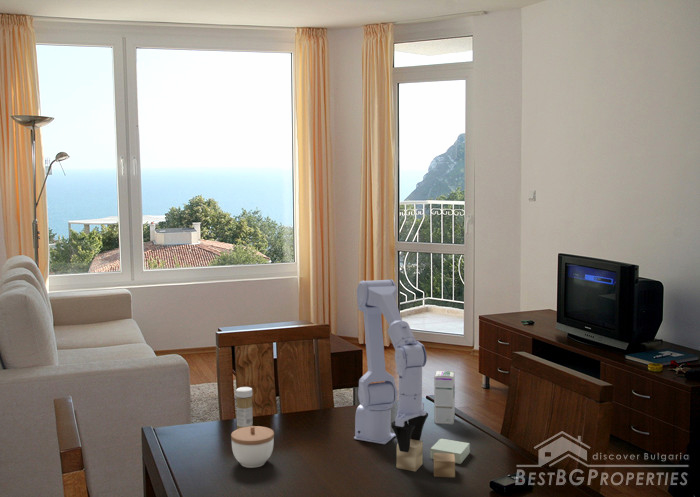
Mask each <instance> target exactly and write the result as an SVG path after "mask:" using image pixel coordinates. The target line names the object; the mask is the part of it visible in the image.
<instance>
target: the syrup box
mask: <svg viewBox="0 0 700 497" xmlns="http://www.w3.org/2000/svg"><path fill="white" fill-rule="evenodd" d="M455 377H456V376H455V371H450V370H435V373H434V377H433V379H434V380H433V382H434V385H433V386H434V388H433V389H434V390H433V393H434V394H433V395H434V397H433V400H434V401H433V403H434V404H433V405H434V407H433V409H434V410H433V412H434V414H433V415H434V420H433V421H434V423H435V424H440V425H441V424H442V425H454V424H455V423H454V422H455V418H456V416H455V415H456V414H455V412H456V410H455V408H456V407H455V405H456V404H455V403H456V402H455V401H456V400H455V399H456V398H455V396H456V391H455V385H456V384H455V383H456V382H455Z"/></svg>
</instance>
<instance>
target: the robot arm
mask: <svg viewBox="0 0 700 497" xmlns="http://www.w3.org/2000/svg"><path fill="white" fill-rule="evenodd" d="M397 296H398V286H397V284H396V282H395V281H394V279H380V280H379V279H378V280H377V279H376V280H375V279H374V280H360V281H359V283H358V285H357V288H356V302H357V304H356V305H357V310H358V311H360V312H362V313H363V314H362V315H363V325H364V335H365V351H366V352H365V353H366V361H367V362H366V363H367V371H366V372H365V373H364V374H363V375H362V376H361V377H360V378H359V379H358V389H357V390H358V391H357V397H358V401H359V405H358V406H357V408H356V411H355V416H354V417H355V418H354V421H355V422H354V425H355V426H354V427H355V428H354V435H355V436H353V439H354V440H358V441H365V442H369V443H375V444H379V445H380V444H381V445H386V444H387V443H389V442H390V441H391V440H392V439H393V438H394V437H395V438H396V441H397V444H398V445H399V449H400V451H402V452H408V451H409V448H410V441H411V439H413V440H419V441H421V437H422V433H423V430H424V429H423V428H424V425H425V423H426V420H427V419H428V417H429V413H428V412H427V411H425V402H423V368H424V367H425V366H426V364H427V360H428V358H427V350H426V348H425V345H424V344H423V343H421V342H420V341H419V340H417V339H416V337H415V335H414V333H413V330H412V329H411V326H410V325H409V323H408V321H406V320H403V319H402V316H401V313H400V310H399V307H398V304H397V302H396V301H397ZM382 315H383V317H384V319H385V321H386V323H387V324H388V326H389V327H388V329H387V335H388V337H389V339H390V341H391V344H392V346H393V348H394V350H395V351H394V360H395V365H396V373H397V375H398V388H397V385H396V381H395V377H394V376H393V375H392V374H390V373H389V372H388V371H387V369H386V357H385V346H384V333H383V321H382ZM397 400H398V409H397V415H396V417H395V420H394V421H392V422H391V420H392V419H391V417H392V416H391V414H392V411H391V410H392V408H393V407H394V405H395V404H396V402H397ZM391 429H392V430H393V432H391Z"/></svg>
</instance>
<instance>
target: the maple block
mask: <svg viewBox="0 0 700 497" xmlns="http://www.w3.org/2000/svg"><path fill="white" fill-rule="evenodd" d="M423 446H424V444H423V440H420V441H419V440H413V439H411V441H410V448H409V451H408V452H402V451H400V449H399V445H398V443H397V444H396V464H395V465H396V469H400V470H406V471H411V472H417V470H418V469H419V468H421V466H422V465H423V463H424V462H423V456H424V455H423V453H424V452H423V450H424V447H423Z"/></svg>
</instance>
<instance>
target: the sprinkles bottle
mask: <svg viewBox="0 0 700 497" xmlns="http://www.w3.org/2000/svg"><path fill="white" fill-rule="evenodd" d="M235 397H236V430H237V429H239V428H243V427H249V426H253V421H254V420H253V415H254V414H253V388H252V387H250V386H240V387H238V388H236V389H235Z"/></svg>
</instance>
